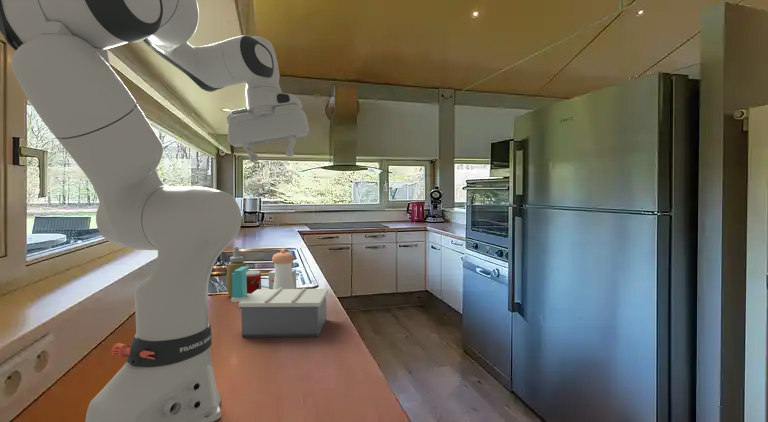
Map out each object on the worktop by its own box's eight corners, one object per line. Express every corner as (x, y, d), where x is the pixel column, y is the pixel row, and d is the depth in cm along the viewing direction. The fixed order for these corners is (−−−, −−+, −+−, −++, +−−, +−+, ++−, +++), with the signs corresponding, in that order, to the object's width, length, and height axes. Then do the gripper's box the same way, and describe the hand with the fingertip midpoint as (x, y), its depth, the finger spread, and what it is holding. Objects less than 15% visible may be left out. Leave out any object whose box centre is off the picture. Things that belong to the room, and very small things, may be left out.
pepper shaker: (298, 305, 134) (296, 248, 133) (292, 311, 126) (291, 251, 126) (276, 305, 134) (275, 248, 133) (269, 311, 127) (268, 251, 126)
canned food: (254, 308, 131) (253, 275, 130) (232, 307, 132) (231, 274, 132) (265, 301, 138) (265, 270, 138) (245, 300, 140) (244, 269, 139)
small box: (297, 298, 142) (296, 269, 141) (290, 303, 136) (289, 272, 136) (276, 297, 143) (276, 268, 143) (268, 301, 138) (268, 272, 137)
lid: (319, 306, 103) (318, 273, 103) (223, 307, 103) (222, 274, 103) (328, 292, 118) (327, 263, 117) (243, 292, 118) (243, 263, 118)
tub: (318, 336, 104) (317, 306, 103) (242, 337, 104) (241, 307, 104) (326, 319, 118) (325, 293, 117) (259, 320, 118) (258, 293, 118)
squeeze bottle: (253, 293, 150) (252, 246, 149) (241, 298, 142) (240, 249, 141) (234, 292, 152) (232, 245, 151) (221, 297, 144) (219, 248, 143)
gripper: (219, 107, 98) (226, 162, 97) (299, 93, 96) (306, 149, 95) (232, 115, 104) (238, 166, 103) (307, 101, 102) (314, 154, 101)
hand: (271, 158), depth 99 cm, fingers open, 8 cm apart
